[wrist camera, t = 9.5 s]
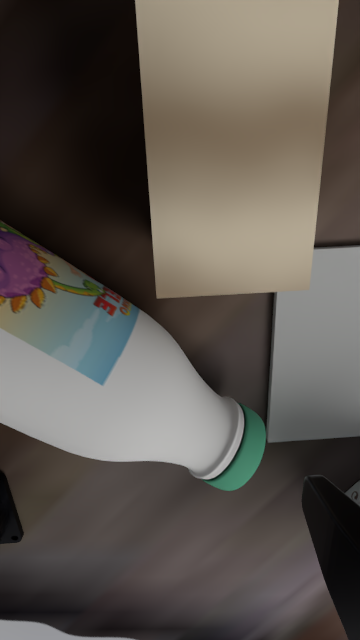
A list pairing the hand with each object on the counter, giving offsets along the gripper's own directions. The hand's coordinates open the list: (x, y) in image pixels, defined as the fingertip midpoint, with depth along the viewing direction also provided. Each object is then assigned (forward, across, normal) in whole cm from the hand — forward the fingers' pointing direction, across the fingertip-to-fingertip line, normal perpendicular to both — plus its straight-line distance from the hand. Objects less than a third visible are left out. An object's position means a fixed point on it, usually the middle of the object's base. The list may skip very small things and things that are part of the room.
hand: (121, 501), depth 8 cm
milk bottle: (+9, +11, -5) cm, 15 cm away
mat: (+12, -12, +3) cm, 18 cm away
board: (+8, -4, -8) cm, 12 cm away
